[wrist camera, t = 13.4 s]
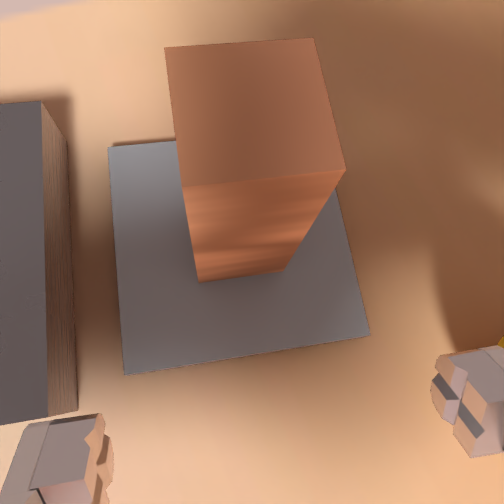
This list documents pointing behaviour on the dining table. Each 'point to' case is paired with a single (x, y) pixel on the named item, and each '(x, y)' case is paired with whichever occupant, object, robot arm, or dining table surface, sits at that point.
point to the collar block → (35, 268)
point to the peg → (251, 151)
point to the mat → (221, 291)
